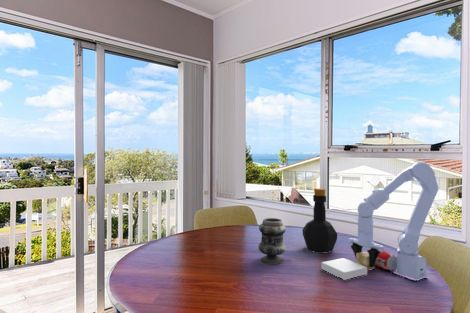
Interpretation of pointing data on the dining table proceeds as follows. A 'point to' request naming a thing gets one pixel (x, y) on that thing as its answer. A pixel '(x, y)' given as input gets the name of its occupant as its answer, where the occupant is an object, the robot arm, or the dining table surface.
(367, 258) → the ochre cube
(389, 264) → the soda can
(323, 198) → the bottle
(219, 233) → the dining table surface
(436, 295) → the dining table surface
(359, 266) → the plinth
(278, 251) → the apothecary jar
